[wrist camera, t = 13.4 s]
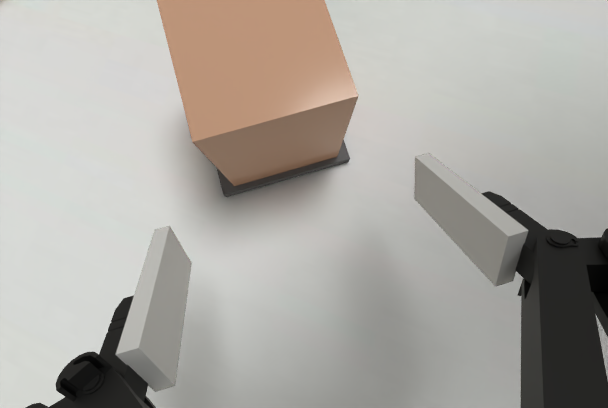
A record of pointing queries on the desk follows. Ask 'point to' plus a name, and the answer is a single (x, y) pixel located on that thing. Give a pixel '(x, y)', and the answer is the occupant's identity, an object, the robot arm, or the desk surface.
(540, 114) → the desk surface
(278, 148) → the peach salmon cube
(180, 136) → the desk surface
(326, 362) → the desk surface
